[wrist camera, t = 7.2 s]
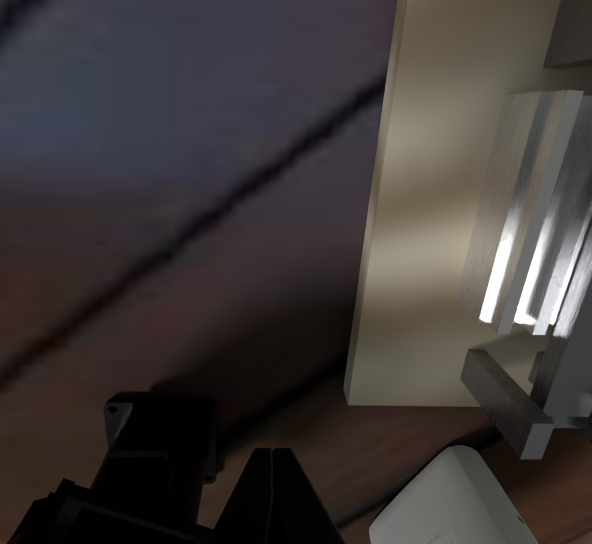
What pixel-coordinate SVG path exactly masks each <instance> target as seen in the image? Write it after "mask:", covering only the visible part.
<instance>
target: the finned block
mask: <svg viewBox="0 0 592 544" xmlns="http://www.w3.org/2000/svg"><path fill="white" fill-rule="evenodd" d="M583 92H584V91H575V90H563V91H553V92H542V91H539V92H530V93H521V94H512V95H505V97H504V101H503V105H502V110H501V114H500V118H499V122H498V126H497V130H496V135H495V139H494V143H493V147H492V151H491V155H490V160H489V164H488V168H487V172H486V176H485V180H484V185H483V189H482V193H481V197H480V201H479V205H478V209H477V214H476V218H475V222H474V226H473V230H472V234H471V239H470V243H469V247H468V251H467V255H466V259H465V264H464V268H463V272H462V276H461V280H460V284H459V289H458V293H457V297H456V301H457V302H458V303H459V304H460V305H461V306H462V307H463V308H464V309H466V310H467V311H468V312H469V313H470V314H471V315H472V316H473V317H474V318H475V319H476V320H477V321H478V322H485V323H486V324H487V325H488V326H489V327H490V328H491V329H493V330H494V331H495V332H496V333H497V334H510V331H511V328H512V325H513V323H519V324H520V325H521V326H522V327H524V328H525V329H526V330H527V331H529V332H530V333H531V334H532V335H545V333H546V330H547V328H548V325H549V324H552V325H553V326H554V323H555V321H556V318H557V315H558V312H559V309H560V306H561V303H562V300H563V297H564V294H565V291H566V289H567V286H568V283H569V280H570V277H571V274H572V271H573V268H574V265H575V262H576V259H577V256H578V254H579V251H580V248H581V245H582V242H583V239H584V236H585V233H586V230H587V227H588V224H589V222H590V219H591V216H592V95H591V96H587V95H583Z"/></svg>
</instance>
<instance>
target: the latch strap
mask: <svg viewBox="0 0 592 544" xmlns="http://www.w3.org/2000/svg"><path fill="white" fill-rule="evenodd" d="M529 397H530V398H531V399H532V400H533V401H534V402H535V403H536V404H537V405H538V406H539V407H540V408H541V409H542V410H543V411H544V412H545V413H546V415H547V416H548V417H549V418H550V419H551V420H552V421H553V422H554V423H555V426H554V428H585V427H587V425H588V423H589V416H590V413H591V411H592V216H591V219H590V222H589V224H588V227H587V230H586V233H585V236H584V239H583V242H582V245H581V248H580V251H579V254H578V256H577V259H576V262H575V265H574V268H573V271H572V274H571V277H570V280H569V283H568V286H567V289H566V291H565V294H564V297H563V300H562V303H561V306H560V309H559V312H558V315H557V318H556V321H555V323H554V326H553V329H552V332H551V335H550V338H549V341H548V344H547V347H546V350H545V353H544V356H543V358H542V361H541V364H540V367H539V370H538V373H537V376H536V379H535V382H534V385H533V388H532V390H531V393H530V396H529Z"/></svg>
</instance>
